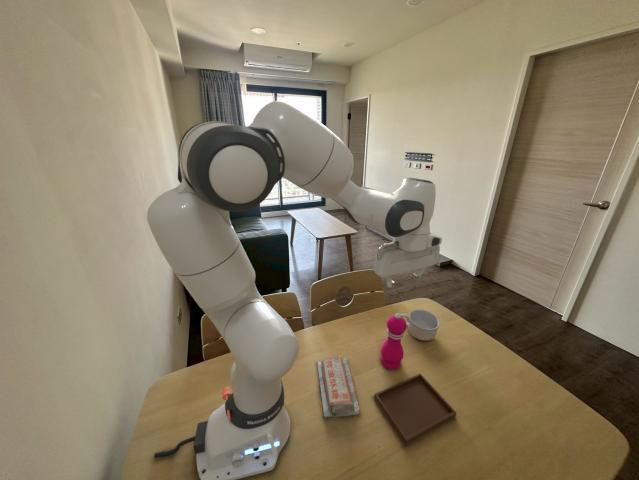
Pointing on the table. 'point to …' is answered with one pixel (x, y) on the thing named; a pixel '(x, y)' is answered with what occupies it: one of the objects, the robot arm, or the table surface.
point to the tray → (414, 408)
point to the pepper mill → (393, 342)
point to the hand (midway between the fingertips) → (403, 283)
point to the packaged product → (337, 388)
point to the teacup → (422, 324)
